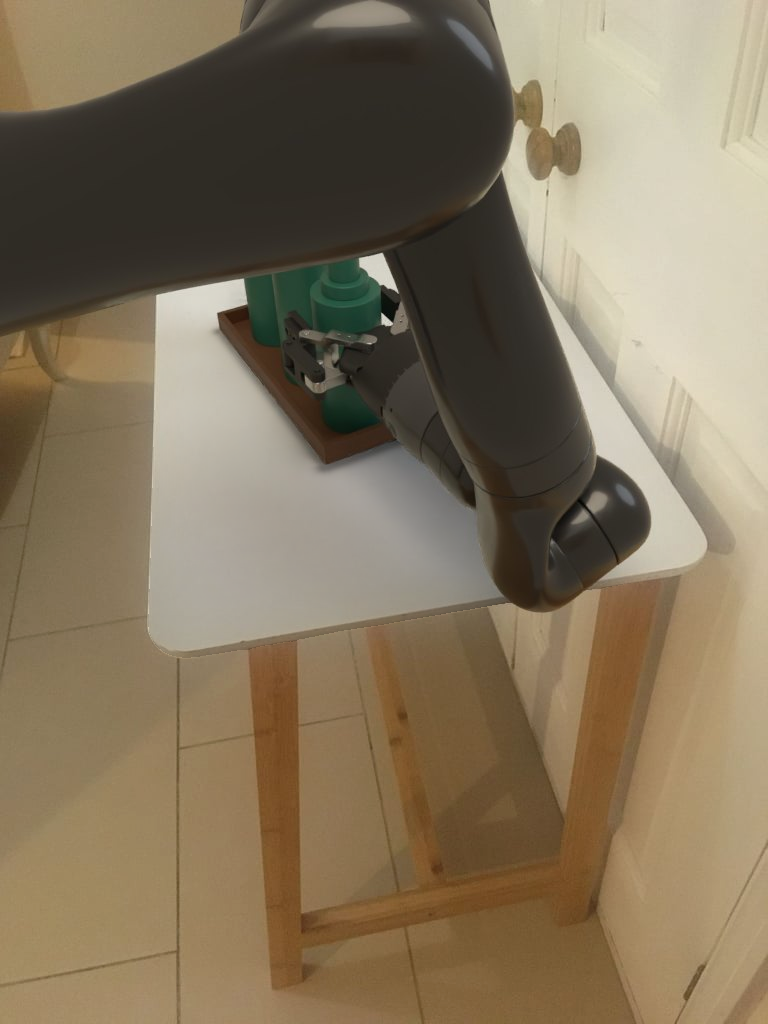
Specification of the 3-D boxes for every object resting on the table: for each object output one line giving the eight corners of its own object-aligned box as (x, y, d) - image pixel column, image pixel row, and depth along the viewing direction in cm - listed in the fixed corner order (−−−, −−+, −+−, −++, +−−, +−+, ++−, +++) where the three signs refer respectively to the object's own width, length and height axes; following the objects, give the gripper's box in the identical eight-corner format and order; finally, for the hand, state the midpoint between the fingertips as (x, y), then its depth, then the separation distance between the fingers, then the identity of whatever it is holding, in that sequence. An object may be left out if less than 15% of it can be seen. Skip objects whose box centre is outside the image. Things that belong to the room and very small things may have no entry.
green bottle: (313, 428, 80) (293, 244, 68) (334, 392, 84) (319, 213, 72) (374, 438, 79) (365, 252, 67) (392, 401, 83) (387, 220, 71)
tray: (425, 428, 80) (425, 411, 79) (325, 464, 77) (324, 446, 76) (305, 304, 98) (303, 288, 97) (219, 329, 95) (216, 312, 93)
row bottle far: (243, 343, 91) (215, 171, 79) (264, 315, 96) (241, 148, 83) (296, 350, 90) (276, 177, 78) (315, 321, 94) (299, 152, 82)
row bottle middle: (275, 382, 86) (250, 205, 74) (296, 351, 90) (277, 177, 78) (331, 391, 84) (316, 211, 72) (350, 358, 89) (339, 183, 76)
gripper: (512, 331, 65) (405, 247, 76) (342, 388, 60) (253, 289, 71) (506, 413, 70) (406, 323, 81) (348, 471, 65) (264, 367, 76)
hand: (335, 307), depth 76 cm, fingers open, 8 cm apart
